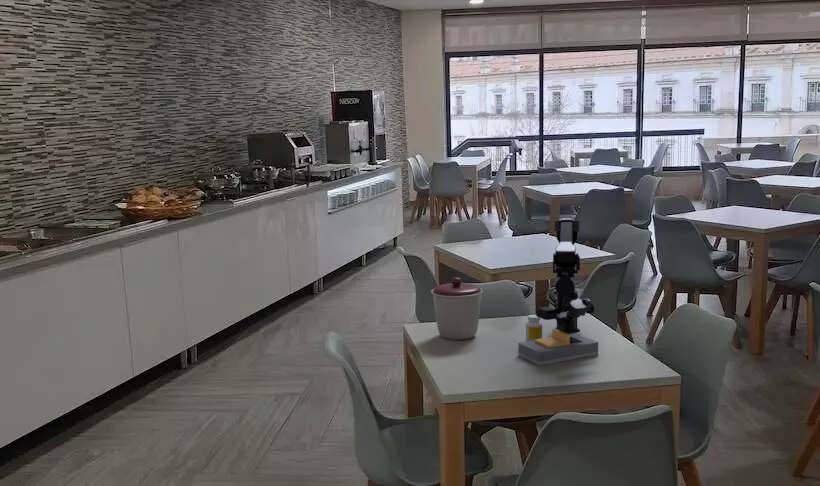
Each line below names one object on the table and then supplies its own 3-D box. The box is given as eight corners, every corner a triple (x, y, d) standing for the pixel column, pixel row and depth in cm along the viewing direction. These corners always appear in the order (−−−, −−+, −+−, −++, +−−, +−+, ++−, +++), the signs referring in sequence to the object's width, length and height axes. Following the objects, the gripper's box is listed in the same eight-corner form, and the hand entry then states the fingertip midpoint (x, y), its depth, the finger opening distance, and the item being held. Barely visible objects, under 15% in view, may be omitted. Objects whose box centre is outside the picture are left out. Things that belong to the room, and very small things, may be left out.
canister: (424, 333, 273) (422, 275, 270) (470, 326, 279) (469, 270, 276) (444, 346, 256) (442, 285, 253) (492, 339, 262) (491, 279, 259)
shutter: (555, 338, 246) (555, 328, 246) (569, 344, 239) (569, 334, 239) (534, 342, 243) (534, 332, 243) (548, 348, 236) (548, 338, 236)
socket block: (575, 344, 253) (575, 333, 252) (598, 354, 242) (598, 342, 241) (518, 354, 244) (518, 342, 243) (539, 365, 233) (539, 352, 233)
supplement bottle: (523, 343, 257) (522, 315, 255) (536, 340, 259) (535, 313, 258) (532, 347, 252) (532, 318, 251) (545, 344, 254) (545, 316, 253)
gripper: (555, 297, 230) (555, 347, 232) (605, 289, 237) (605, 338, 239) (535, 290, 240) (535, 338, 242) (584, 283, 247) (583, 330, 250)
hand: (565, 336), depth 243 cm, fingers closed
